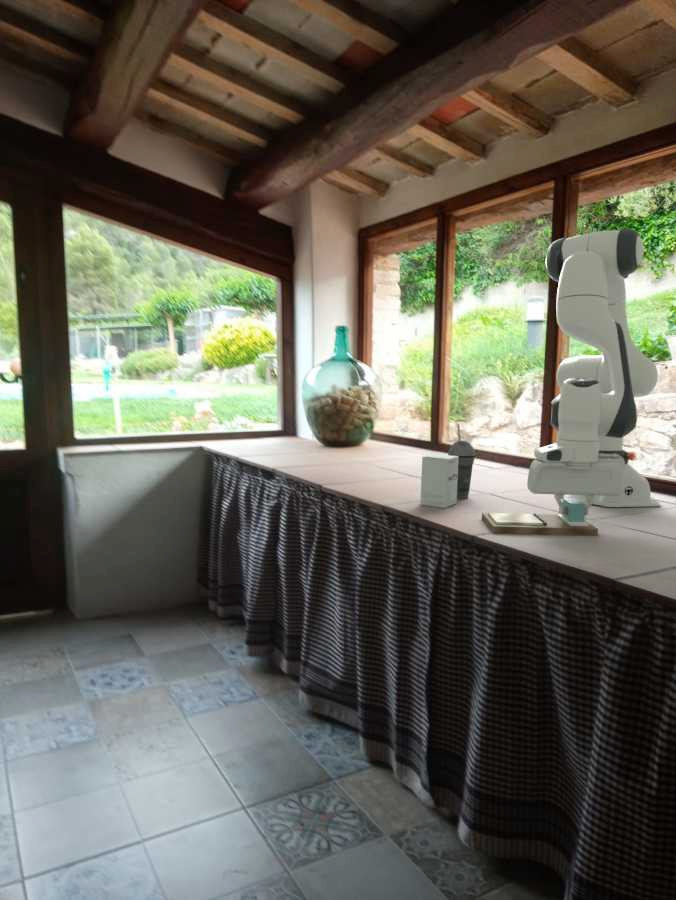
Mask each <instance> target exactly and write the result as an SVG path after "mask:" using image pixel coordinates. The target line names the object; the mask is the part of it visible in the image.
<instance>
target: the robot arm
mask: <svg viewBox="0 0 676 900" xmlns="http://www.w3.org/2000/svg"><path fill="white" fill-rule="evenodd" d="M644 250H645V248H644V242H643V240H642V237H641V235H640V233H639V232H638V231H637V230H636V229H632V228H620V230H618V229H617V230H615V229H614V230H613V229H612V230H597V231H592V232H590V233H585V234H578V235H576V236H572V237H568V238H567V237H561V238H559V239H556V240H555V241H553V242H551V244H550V246H549V247H548V248H547V250H546V251H547V252H546V257H545V267H546V270H547V273H548V274H547V275H548V276H549V278H551V279H552V280H553V281H554V282H558V287H557V293H556V310H555V311H556V322H557V325H558V326H559V329H561V331H562V332H563V333H564V334H565V335H566V336H568V337H569V338H571V339H573V340H575V341H577V342H581V343H583V344H586V345H588V346H591V347H594V348H595V349H597V350H599V351H600V352H601V353H602V354H601V355H579V356H574V357H568V358H565V359H564V360H562V361H561V363H560V364H559V365H558V367H557V370H556V374H555V376H556V377H555V378H556V380H555V381H556V384H557V386H558V388H559V390H561V391H560V393H559V394H558V395H557V396H556V397H554V399H552V401H550V403H551V413H550V414H551V415H550V416H551V417H550V418H551V419H550V423H549V424H550V425H551V426H552V427H553V429H555V430H556V431H557V435H556V442H555V443H552V444H548V445H544V446H541V447H537V448H535V449H534V450H533V456H534V458H535V459H534V460H533V461H532V462H531V464H530V466H529V470H528V475H527V481H526V483H527V484H526V485H527V486H526V487H527V489H528V491H529V492H530V493H532V494H533V495H536V494H537V495H553V496H554V497H553V498H554V499H555V501H556V504H557V505H558V514H568V512H567V510H568V507H567V506H566V505H563V499H564V496H565V495H568V499H578V500H579V501H581V502H583V503H584V504H586V506H585V516H588V515H589V508H590V507H591V506H592V505H595V506H596V505H597V506H602V507H605V508H624V507H625V508H630V507H631V508H634V507H635V508H637V507H638V508H639V507H640V508H641V507H642V508H643V507H645V508H646V507H659V506H660V501H659V500H658V499H656V498H655V497H652V496H651V495H652V494H651V487H650V483H649V481H648V479H646V477H645V476H644V475H642V474H641V473H639V471H637V470H636V469H635V468H634V467H633V466H631V465H630V464H629V461H636V459H637V454H636V453H634V452H631V451H630V452H629V451H628V452H627V451H625V450H624V449H623V444H624V437H626V436H627V435H629V434H630V433H631V432H633V431H634V430H635V429H636V427H637V423H638V408H637V404H636V400H635V398H639V397H644V396H648V395H649V394H651V392H652V391H653V390H654V389H655V387H656V385H657V382H658V380H659V378H658V377H659V373H658V369H657V366H656V364H655V363H654V362H653V360H652V359H651V358H649V357H648V356H646V355H645V354H643V353H642V352H641V351H640V349H638V348H639V347H637V346H636V344H635V342H634V341H633V339H632V337H631V335H630V334H631V333H630V332H629V326H628V325H629V324H628V315H627V313H628V311H627V292H626V290H627V289H626V282H625V279H627V278H629V275H631V274H633V273H635V272H636V271H637V270H638V269H639V268H640V265H641V263H642V260H643V258H644V254H645V253H644Z"/></svg>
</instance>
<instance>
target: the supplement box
mask: <svg viewBox="0 0 676 900" xmlns="http://www.w3.org/2000/svg"><path fill="white" fill-rule="evenodd" d="M421 459H422V460H421V477H420V479H421V480H420V481H421V483H420V502H419V503H420V505H421V506H428V507H433V508H434V507H435V508H442V509H447V508H449V507H451V506H453V505H456V504H457V501H458V499H457V482H458V459H459V456H451V455H448V454H435V453H434V454H430V455H425V456H422V458H421Z"/></svg>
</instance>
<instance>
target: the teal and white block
mask: <svg viewBox="0 0 676 900" xmlns="http://www.w3.org/2000/svg"><path fill="white" fill-rule="evenodd" d="M562 503H563V505H566V506H567V507H568V510H567V512H568V514H559V513H558V514H556V515H557V516H558V517H559V518H560V519H562V520H563V521H564V522H566V523H567V524H569V525H570V526H589V524H588V523H589V522H588V521H587V522H588V523H587V522H585V521H586V519H585V517H586V515H585V506H586V504H584V503H583V502H581V501H579V500H578V499H570V498H564V499H562Z"/></svg>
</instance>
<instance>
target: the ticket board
mask: <svg viewBox="0 0 676 900" xmlns="http://www.w3.org/2000/svg"><path fill="white" fill-rule="evenodd" d="M481 520H482V522H483V523H484V524H485V525H486V526H487V527H488V529H489V530H490V531H491V533H493V534H504V535H505V534H509V535H511V534H513V535H544V536H545V535H551V536H552V535H553V536H557V535H559V536H585V537H586V536H587V537H589V536H591V537H593V536H598V535H599V528H598V527H596V526H594V525H593V524H592V523H590V522H588V521H587V520H585V522H587V523H588V524H589V526H570V525H569V524H567V523H566V522H564V521H563V520H562V519H560V518H559V517H558V516H557V514H548V513H547V514H545V513H544V514H543V513H542V514H540V513H539V514H538V513H518V512H517V513H515V512H514V513H512V512H509V513H508V512H500V513H499V512H481Z"/></svg>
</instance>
